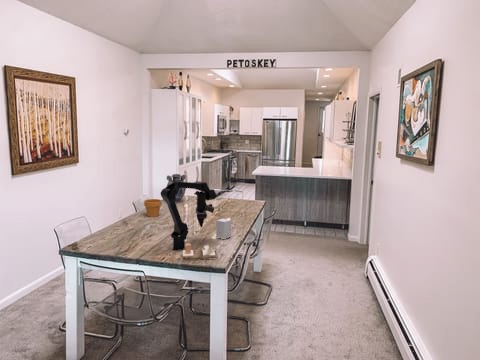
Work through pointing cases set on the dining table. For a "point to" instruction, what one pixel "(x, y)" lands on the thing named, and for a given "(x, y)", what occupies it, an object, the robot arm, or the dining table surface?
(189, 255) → the stub
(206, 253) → the ticket board
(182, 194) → the decorative vase
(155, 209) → the flower pot
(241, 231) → the dining table surface
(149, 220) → the dining table surface
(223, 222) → the supplement box
